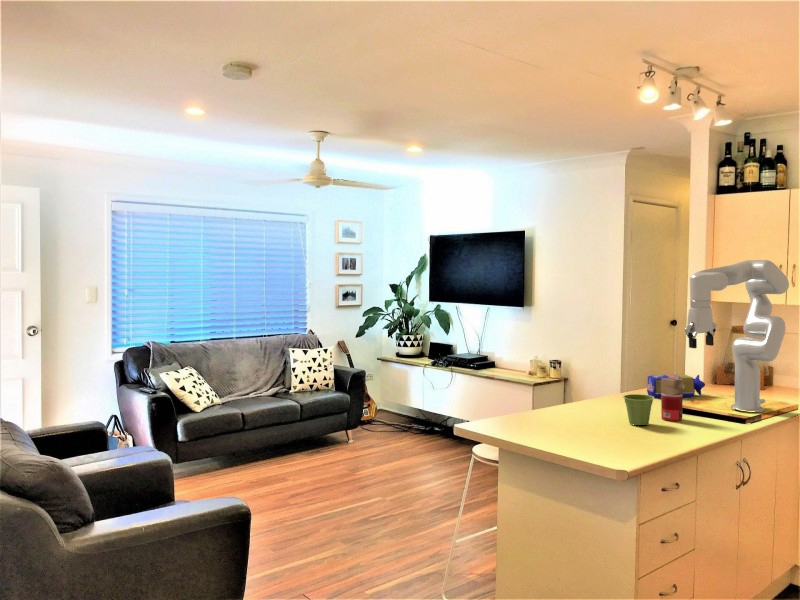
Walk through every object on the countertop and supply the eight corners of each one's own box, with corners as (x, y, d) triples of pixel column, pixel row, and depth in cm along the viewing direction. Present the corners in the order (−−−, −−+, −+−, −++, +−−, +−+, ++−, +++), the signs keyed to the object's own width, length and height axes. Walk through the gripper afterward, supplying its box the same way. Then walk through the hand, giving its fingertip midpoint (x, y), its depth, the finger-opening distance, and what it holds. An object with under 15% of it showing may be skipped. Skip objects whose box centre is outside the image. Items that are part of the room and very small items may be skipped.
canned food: (684, 422, 256) (684, 395, 255) (663, 421, 257) (663, 395, 256) (679, 417, 263) (680, 391, 262) (659, 417, 265) (659, 391, 264)
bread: (644, 394, 308) (644, 374, 308) (695, 393, 308) (695, 372, 308) (653, 399, 298) (653, 377, 297) (705, 398, 298) (705, 376, 297)
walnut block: (670, 391, 263) (670, 377, 263) (683, 393, 258) (683, 379, 258) (660, 392, 261) (660, 378, 260) (673, 395, 255) (673, 380, 255)
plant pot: (655, 422, 257) (655, 394, 256) (653, 429, 246) (653, 400, 246) (624, 419, 262) (624, 392, 261) (621, 426, 251) (621, 398, 250)
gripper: (707, 302, 261) (708, 343, 262) (677, 306, 254) (678, 348, 255) (723, 303, 254) (724, 345, 255) (693, 307, 247) (694, 350, 248)
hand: (701, 346), depth 255 cm, fingers open, 9 cm apart
